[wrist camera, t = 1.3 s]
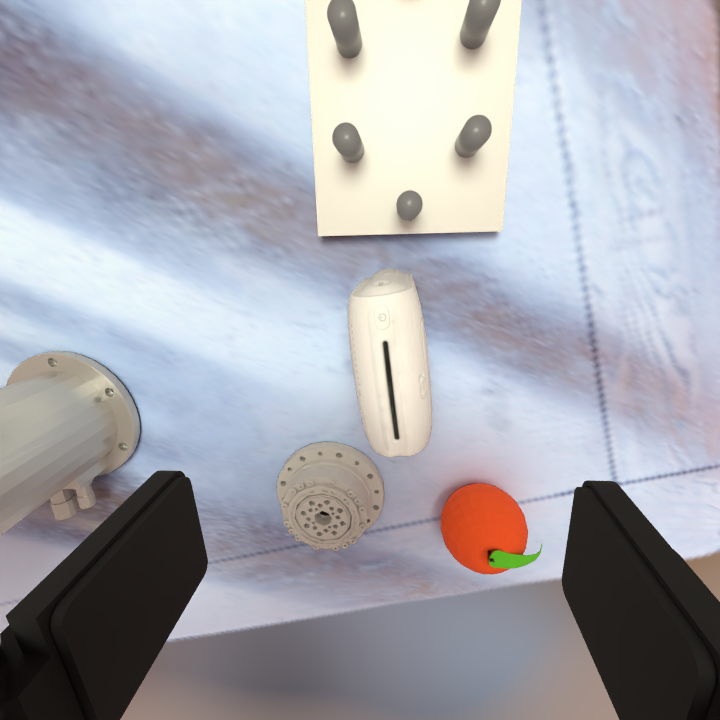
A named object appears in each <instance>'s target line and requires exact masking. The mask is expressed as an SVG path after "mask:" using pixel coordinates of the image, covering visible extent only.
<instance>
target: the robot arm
mask: <svg viewBox="0 0 720 720" xmlns="http://www.w3.org/2000/svg"><path fill="white" fill-rule="evenodd" d="M139 434H140V422H139V417H138V413H137V409H136V407H135V404H134V402H133V400H132V398H131V396H130V395H129V393H128V391H127V390H126V388H125V387H124V386H123V384H122V383H121V382H120V381H119V380H118V379H117V378H116V376H114V375H113V374H112V373H111V372H110V371H109V370H107V369H106V368H105V367H103V366H102V365H100V364H99V363H97V362H95V361H94V360H92V359H89V358H87V357H85V356H82V355H80V354H75V353H71V352H65V351H52V352H46V353H42V354H39V355H36V356H33V357H30V358H28V359H27V360H25V361H23V362H21V363H20V364H19V365H18V366H17V367H16V368H15V369H14V370H13V372H12V374H11V375H10V377H9V379H8V382H7V385H6V387H3V388H1V389H0V536H1V535H2V534H3V533H5V532H6V531H7V530H9V529H10V528H11V527H13V526H14V525H15V524H17V523H18V522H19V521H21V520H22V519H23V518H25V517H26V516H27V515H29V514H30V513H31V512H33V511H34V510H35V509H37V508H38V507H39V506H41V505H42V504H43V503H45V502H46V501H47V500H48V499H50V505H51V508H52V511H53V514H54V517H55V519H56V520H65V519H68V518H70V517H72V516H74V515H75V514H77V512H78V511H79V507H80V508H81V509H87V508H90V507H92V506H93V505H95V504H96V498H95V494H94V491H93V489H92V487H91V483H92V482H93V478H94V477H96V476H100V475H103V474H106V473H110V472H111V471H113V470H115V469H117V468H118V467H119V466H121V465H122V464H123V463H124V462H125V461H127V460H128V459H129V457H130V456H131V455H132V454H133V452H134V450H135V448H136V446H137V444H138V439H139ZM72 489H75V491H76V494H77V495H76V497H77V500H78V504H79V507H78V504H77V501H76V497H75V494H74V493H73V492H72ZM207 565H208V559H207V554H206V549H205V545H204V540H203V535H202V531H201V526H200V522H199V517H198V512H197V508H196V503H195V499H194V494H193V490H192V485H191V481H190V479H189V478H188V477H185V475H184V473H183V472H181V471H157V472H155V473H154V474H153V475H152V476H151V477H150V478H149V479H148V480H147V481H146V482H145V483H144V484H143V485H142V486H140V487H139V488H138V489H137V490H136V491H135V492H134V493H133V494H132V495H131V496H130V497H129V498H128V499H127V500H126V501H125V502H124V503H123V504H122V505H121V506H120V507H119V508H118V509H117V510H115V511H114V512H113V513H112V514H111V515H110V516H109V517H108V518H107V519H106V520H105V521H104V522H103V523H102V524H101V525H100V526H99V527H98V528H97V529H96V530H95V531H94V532H93V533H92V534H91V535H89V536H88V537H87V538H86V539H85V540H84V541H83V542H82V543H81V544H80V545H79V546H78V547H77V548H76V549H75V550H74V551H73V552H72V553H71V554H70V555H69V556H68V557H67V558H66V559H64V560H63V561H62V562H61V563H60V564H59V565H58V566H57V567H56V568H55V569H54V570H53V571H52V572H51V573H50V574H49V575H48V576H47V577H46V578H45V579H44V580H43V581H42V582H41V583H40V584H38V585H37V586H36V587H35V588H34V589H33V590H32V591H31V592H30V593H29V594H28V595H27V596H26V597H25V598H24V599H23V600H22V601H21V602H20V603H19V604H18V605H17V606H16V607H15V608H13V609H12V610H11V611H10V612H9V613H8V614H7V615H6V618H7V620H8V622H9V626H8V627H7V628H6V629H5V630H4V631H3V632H2V633H1V634H0V720H120V719H121V717H122V716H123V714H124V712H125V710H126V709H127V707H128V705H129V704H130V702H131V700H132V698H133V697H134V695H135V693H136V692H137V690H138V688H139V686H140V685H141V683H142V681H143V680H144V678H145V676H146V674H147V673H148V671H149V669H150V668H151V666H152V664H153V662H154V661H155V659H156V657H157V656H158V654H159V652H160V650H161V649H162V647H163V645H164V644H165V642H166V640H167V639H168V637H169V635H170V633H171V632H172V630H173V628H174V627H175V625H176V623H177V621H178V620H179V618H180V616H181V615H182V613H183V611H184V609H185V608H186V606H187V604H188V603H189V601H190V599H191V597H192V596H193V594H194V592H195V591H196V589H197V587H198V586H199V584H200V582H201V580H202V579H203V577H204V575H205V573H206V570H207ZM562 586H563V591H564V594H565V597H566V599H567V601H568V604H569V606H570V608H571V611H572V613H573V615H574V617H575V620H576V622H577V624H578V627H579V629H580V631H581V633H582V635H583V638H584V640H585V642H586V644H587V647H588V649H589V651H590V654H591V656H592V658H593V660H594V663H595V665H596V667H597V670H598V672H599V674H600V676H601V679H602V681H603V683H604V685H605V688H606V690H607V692H608V695H609V697H610V699H611V701H612V704H613V706H614V708H615V711H616V713H617V715H618V717H619V720H720V602H719V601H718V600H717V598H716V597H715V596H714V595H713V594H712V593H711V591H710V590H709V589H708V588H707V587H706V585H705V584H704V583H703V582H702V581H701V580H700V579H699V577H698V576H697V575H696V574H695V573H694V572H693V570H692V569H691V568H690V567H689V566H688V564H687V563H686V562H685V561H684V560H683V558H682V557H681V556H680V555H679V554H678V553H677V552H676V551H675V550H673V549H672V548H671V546H670V545H669V544H668V543H667V542H666V541H665V539H664V538H663V537H662V536H661V535H660V533H659V532H658V531H657V530H656V529H655V528H654V526H653V525H652V524H651V523H650V522H649V520H648V519H647V518H646V517H645V516H644V515H643V513H642V512H641V511H640V510H639V509H638V507H637V506H636V505H635V504H634V503H633V502H632V500H631V499H630V498H629V497H628V496H627V494H626V493H625V492H624V491H623V490H622V489H621V487H620V486H619V485H618V484H617V483H616V482H613V481H585V482H584V483H583V486H582V487H577V488H576V489H575V492H574V499H573V506H572V512H571V519H570V526H569V533H568V540H567V547H566V554H565V560H564V567H563V574H562Z"/></svg>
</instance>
